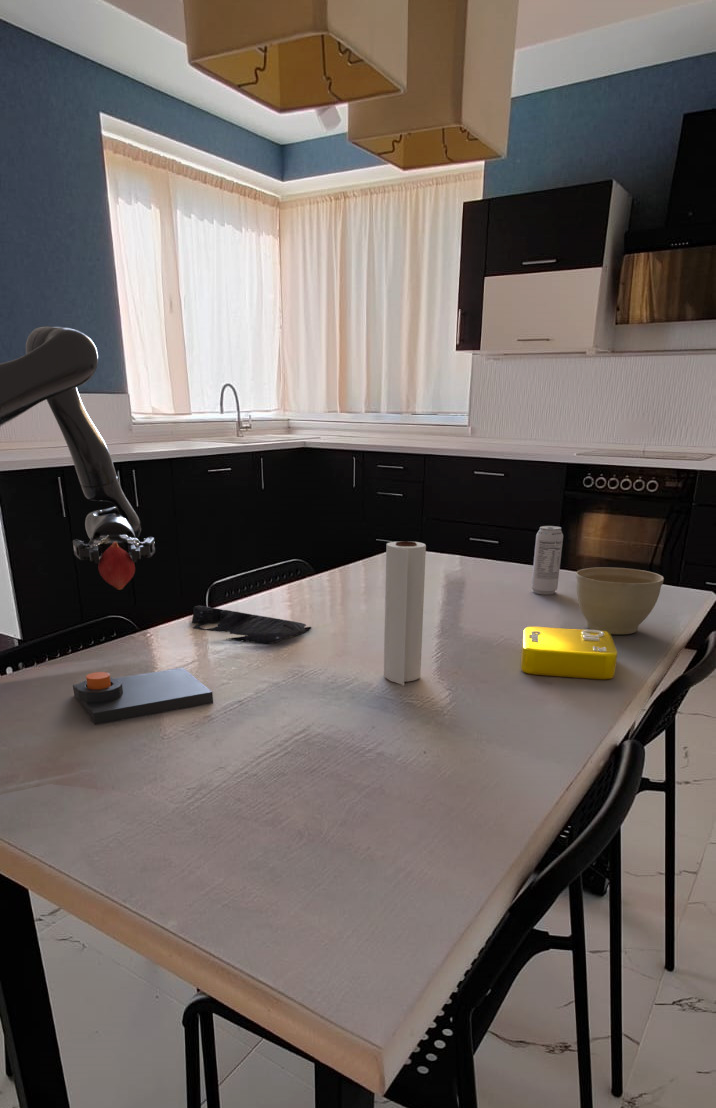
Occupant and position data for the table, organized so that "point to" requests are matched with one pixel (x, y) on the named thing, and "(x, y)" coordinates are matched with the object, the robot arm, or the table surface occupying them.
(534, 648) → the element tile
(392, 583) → the paper towel roll
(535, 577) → the energy drink can
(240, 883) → the table surface
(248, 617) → the dark slate chunk
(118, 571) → the onion
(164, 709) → the scale
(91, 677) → the button
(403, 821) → the table surface
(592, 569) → the planter bowl
